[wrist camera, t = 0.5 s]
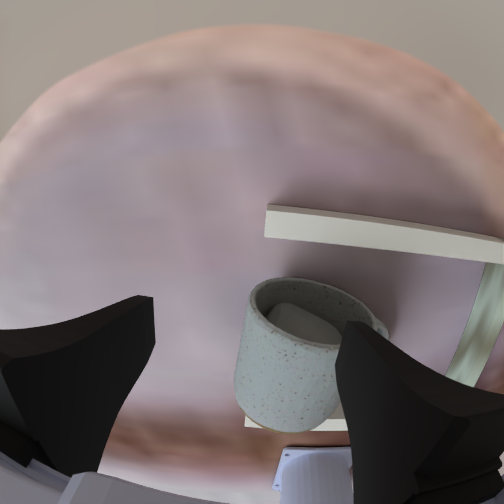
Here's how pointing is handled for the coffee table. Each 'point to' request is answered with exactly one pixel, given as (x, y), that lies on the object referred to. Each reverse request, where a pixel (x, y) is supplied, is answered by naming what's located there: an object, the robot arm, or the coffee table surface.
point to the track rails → (379, 237)
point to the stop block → (480, 327)
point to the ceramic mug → (294, 352)
